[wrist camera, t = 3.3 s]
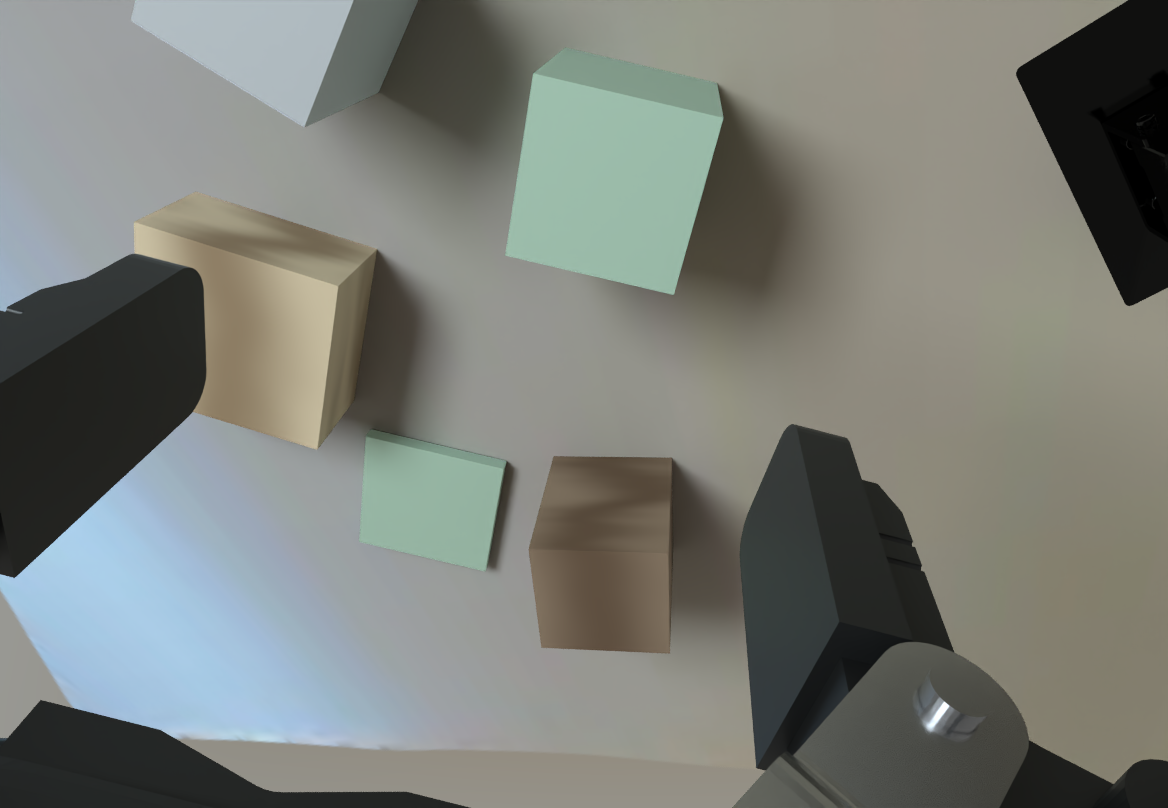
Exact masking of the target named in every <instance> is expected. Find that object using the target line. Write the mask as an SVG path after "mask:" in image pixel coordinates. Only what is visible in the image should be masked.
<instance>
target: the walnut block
mask: <svg viewBox="0 0 1168 808" xmlns="http://www.w3.org/2000/svg"><path fill="white" fill-rule="evenodd" d="M529 556H530V563H531V571H532V579H533V586H534V594H535V601H536V609H537V617H538V624H539V632H540V640H541V647H542V648H561V649H583V650H605V651H627V652H649V653H670V631H671V599H672V566H673V507H672V458H645V457H564V456H554V457H553V461H552V465H551V468H550V472H549V476H548V479H547V483H546V487H545V491H544V494H543V498H542V502H541V505H540V509H539V513H538V516H537V520H536V524H535V528H534V531H533V535H532V539H531V542H530V546H529Z"/></svg>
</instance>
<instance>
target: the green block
mask: <svg viewBox="0 0 1168 808" xmlns="http://www.w3.org/2000/svg"><path fill="white" fill-rule="evenodd" d="M722 121H723V113H722V107H721V102H720V96H719V91H718V86H717V83H715V82H711V81H706V80H702V79H698V78H694V77H689V76H685V75H681V74H677V73H672V72H668V71H664V70H659V69H655V68H651V67H647V66H642V65H638V64H634V63H630V62H625V61H621V60H617V59H612V58H608V57H604V56H600V55H595V54H591V53H587V52H583V51H578V50H574V49H570V48H566V47H565V48H564V49H563V50H562V51H560V52H559V53H558V54H557V55H555V56H554V57H553V58H552V59H551V60H549V61H548V62H547V63H546V64H544V65H543V66H542V67H541V68H539V69H538V70H537V71H536V72H534V73H533V78H532V84H531V91H530V97H529V104H528V110H527V117H526V124H525V130H524V137H523V143H522V150H521V156H520V163H519V169H518V176H517V182H516V189H515V195H514V202H513V208H512V215H511V221H510V228H509V234H508V241H507V247H506V254H505V256H509V257H514V258H518V259H522V260H526V261H531V262H535V263H539V264H544V265H548V266H552V267H556V268H561V269H565V270H569V271H573V272H578V273H582V274H586V275H590V276H595V277H599V278H603V279H608V280H612V281H616V282H620V283H625V284H629V285H633V286H637V287H642V288H646V289H650V290H654V291H659V292H663V293H667V294H672V295H674V292H675V289H676V285H677V282H678V278H679V274H680V271H681V267H682V264H683V260H684V257H685V253H686V250H687V246H688V242H689V239H690V235H691V232H692V228H693V225H694V221H695V217H696V214H697V210H698V207H699V203H700V200H701V196H702V193H703V189H704V185H705V182H706V178H707V175H708V171H709V168H710V164H711V161H712V157H713V153H714V150H715V146H716V143H717V139H718V136H719V132H720V129H721V125H722Z"/></svg>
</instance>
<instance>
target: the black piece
mask: <svg viewBox="0 0 1168 808" xmlns="http://www.w3.org/2000/svg"><path fill="white" fill-rule="evenodd" d="M1016 76H1017V78H1018V80H1019V82H1020V84H1021V86H1022V89H1023V91H1024V93H1025V95H1026V97H1027V99H1028V101H1029V103H1030V105H1031V107H1032V110H1033V112H1034V114H1035V116H1036V118H1037V120H1038V122H1039V124H1040V126H1041V128H1042V131H1043V133H1044V135H1045V137H1046V139H1047V141H1048V143H1049V145H1050V147H1051V149H1052V151H1053V154H1054V156H1055V158H1056V160H1057V162H1058V164H1059V166H1060V168H1061V170H1062V172H1063V175H1064V177H1065V179H1066V181H1067V183H1068V185H1069V187H1070V189H1071V191H1072V193H1073V196H1074V198H1075V200H1076V202H1077V204H1078V206H1079V208H1080V210H1081V212H1082V214H1083V217H1084V219H1085V221H1086V223H1087V225H1088V227H1089V229H1090V231H1091V233H1092V235H1093V237H1094V240H1095V242H1096V244H1097V246H1098V248H1099V250H1100V252H1101V254H1102V256H1103V258H1104V261H1105V263H1106V265H1107V267H1108V269H1109V271H1110V273H1111V275H1112V277H1113V279H1114V282H1115V284H1116V286H1117V288H1118V290H1119V292H1120V294H1121V296H1122V298H1123V300H1124V303H1125V304H1126V305H1128V306H1131V305H1134V304H1136V303H1138V302H1140V301H1142V300H1144V299H1146V298H1148V297H1150V296H1152V295H1154V294H1156V293H1158V292H1160V291H1162V290H1164V289H1166V288H1168V0H1128V1H1126V2H1125V3H1123V4H1122V5H1120V6H1118V7H1117V8H1115V9H1113V10H1112V11H1110V12H1109V13H1107V14H1105V15H1104V16H1102V17H1100V18H1099V19H1097V20H1095V21H1094V22H1092V23H1091V24H1089V25H1087V26H1086V27H1084V28H1082V29H1081V30H1079V31H1078V32H1076V33H1074V34H1073V35H1071V36H1069V37H1068V38H1066V39H1064V40H1063V41H1061V42H1060V43H1058V44H1056V45H1055V46H1053V47H1051V48H1050V49H1048V50H1047V51H1045V52H1043V53H1042V54H1040V55H1038V56H1037V57H1035V58H1034V59H1032V60H1030V61H1029V62H1027V63H1025V64H1024V65H1022V66H1021V67H1019V68H1018V70H1017V72H1016Z"/></svg>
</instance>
